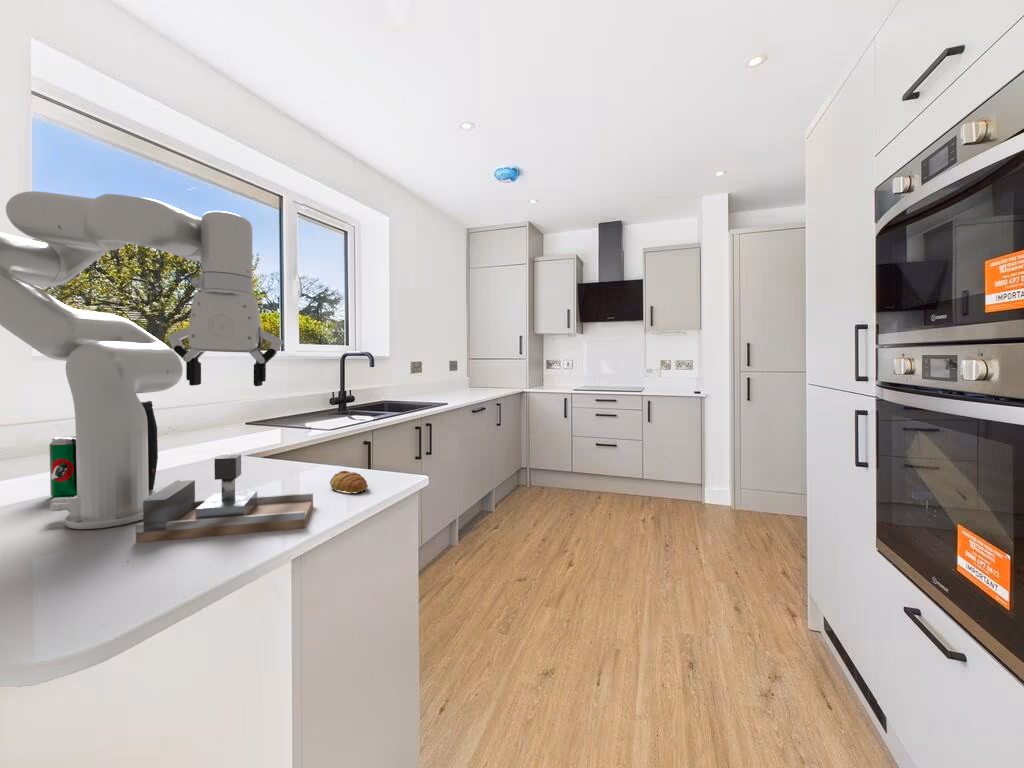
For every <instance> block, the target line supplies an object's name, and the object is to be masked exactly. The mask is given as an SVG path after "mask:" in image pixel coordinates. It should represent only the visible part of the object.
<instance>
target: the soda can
mask: <svg viewBox="0 0 1024 768" xmlns="http://www.w3.org/2000/svg"><path fill="white" fill-rule="evenodd" d="M48 445H49V449H48V450H49V482H50V484H49V487H50V492H49V493H50V496H52V498H60V497H68V498H71V497H73V496H76V495H77V463H76V435H75V436H74V435H73V436H63V437H62V436H60V437H55V438H52V439H51V442H50V443H49V444H48Z"/></svg>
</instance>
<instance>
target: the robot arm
mask: <svg viewBox="0 0 1024 768" xmlns="http://www.w3.org/2000/svg"><path fill="white" fill-rule="evenodd" d="M5 213H6V217H7V218H8V220H9V222H10V223H11V224H12V225H13V227H15V228H16V229H17V230H18V231H19V232H21V233H23V234H24V235H26V236H28V237H29V238H25V237H23V236H22V237H21V236H18V235H14V234H9V233H7V232H3V231H0V326H1V327H3V328H4V329H6V330H7V331H8V332H9V333H11V334H13V335H14V336H15V337H17V338H18V339H19V340H21V341H23V342H24V343H26V344H27V345H28V346H30V347H31V348H32V349H34V350H36V351H37V352H39V353H40V354H42V355H43V356H45V357H47V358H50V359H52V360H55V361H62V362H63V361H64V362H65V361H66V363H65V374H66V378H67V382H68V385H69V390H70V392H71V396H72V400H73V407H74V423H75V426H74V427H75V436H76V463H77V495H76V496H74V497H60V498H54V497H52V499H51V500H50V503H49V504H50V508H49V510H50V512H63V511H68V512H69V515H67V516H66V517H65V518H64V525H65V527H67V528H69V529H74V530H94V529H103V528H112V527H118V526H122V525H129V524H131V523H136V522H139V521H142V520H143V501H144V500H145V499H147V498H149V497H150V496H149V494H150V492H149V491H150V490H149V482H148V424H147V415H146V412H145V409H144V407H143V405H142V403H141V402H142V401H141V400H140V399H139V397H138V395H137V394H146V393H157V392H163V391H167V390H169V389H172V388H173V387H175V386H176V385H177V384H178V383H179V382H180V380H181V379H182V376H183V372H184V371H183V364H182V362H181V359H182V360H183V361H184V362H185V363H186V365H185V366H186V367H185V368H186V369H185V371H186V372H185V373H186V374H185V375H186V376H185V377H186V381H189V382H188V383H189V386H190V387H191V386H193V387H194V386H200V385H201V384H202V362H200V361H199V359H200V358H201V357H202V356H203V355H204V354H205V353H206V352H216V353H217V352H219V353H220V352H222V353H248V354H250V356H252V358H254V360H255V363H254V364H253V386H254V387H261V386H263V382H266V379H267V363H269V361H270V360H272V359H273V358H274V357H275V356H276V355H277V354H278V351H279V350H280V348H281V347H282V345H283V343H284V341H283V339H281V338H280V337H277V336H275V335H273V334H272V333H269V332H267V331H265V330H263V329H262V326H261V318H260V317H261V316H260V310H259V305H258V299H257V297H256V296H254V295H253V227H252V223H251V222H250V221H249V220H248V219H247V218H245V217H244V216H241V215H239V214H237V213H232V212H228V211H221V210H213V211H212V210H211V211H210V210H209V211H207V212H205V213H203V214H202V215H201V217H199V216H195V215H192V214H190V213H188V212H186V211H184V210H181V209H179V208H177V207H174V206H172V205H171V204H167V203H165V202H162V201H160V200H156V199H153V198H147V197H142V196H134V195H125V194H119V193H104V194H101V195H98V196H96V197H86V196H76V195H72V194H71V195H70V194H65V193H64V194H63V193H55V192H47V191H36V190H35V191H31V190H30V191H23V192H19V193H17V194H15V195H13V196H12V197H10V199H9V200H8V201H7V203H6V204H5ZM30 238H33V239H30ZM126 244H129V245H130V244H131V245H138V246H142V247H146V248H150V249H154V250H158V251H161V252H164V253H168V254H170V255H175V256H177V257H180V258H183V259H187V260H190V261H194V262H200V273H199V276H198V277H195V278H194V277H192V278H191V279H190V283H191V286H193V287H197V288H198V289H199V290H200V291H194V295H193V299H192V302H191V308H190V309H191V310H190V315H189V325H188V327H185V328H183V329H180V330H177V331H176V332H172V333H170V334H168V335H167V337H166V338H167V340H168V342H169V344H170V346H171V347H172V348H173V349H172V348H171V347H169V346H168V345H167V344H166V343H164V342H162V341H161V340H159V339H158V338H157V337H155V336H153V335H152V334H151V333H149V332H147V330H145V329H143V328H142V327H141V326H139V325H137V323H135V322H133V321H131V320H129V319H128V318H127V319H126V318H125V317H122V316H119V315H116V314H112V313H107V312H99V311H91V310H85V309H84V310H83V309H78V308H73V307H71V306H68V305H66V304H64V303H63V302H61V301H60V300H58V299H56V298H55V297H53V296H52V295H50V294H49V293H48V292H47V291H45V290H43V289H41V288H42V287H43V288H45V287H46V288H53V287H54V288H55V287H58V286H62V285H64V284H66V283H68V282H70V281H71V280H72V279H74V278H75V277H76V276H77V275H79V274H80V273H82V272H83V271H84V270H86V269H87V268H88V267H89V266H90V265H92V264H93V263H95V262H96V261H97V260H99V259H100V258H101V257H103V255H105V253H107V252H108V251H115V250H118V249H119V250H120V249H121V248H123V247H124V246H125V245H126ZM40 287H41V288H40ZM186 338H188V345H189V347H190V349H188V348H186V346H184V344H183V342H182V341H183V340H184V339H186ZM262 339H264V340H266V341H267V342H269V343H270V347H269V348H268V349H267V350H266V351H265V352H264V353H263V352H262V350H261V348H262V343H263V342H262ZM179 357H180V358H181V359H180V358H179Z"/></svg>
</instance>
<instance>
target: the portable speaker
mask: <svg viewBox="0 0 1024 768" xmlns="http://www.w3.org/2000/svg"><path fill="white" fill-rule="evenodd" d="M140 402H141V403H142V405H143V407H144V409H145V412H146V415H147V424H148V482H149V491H152V490H153V489H154V486H155V481H156V473H157V467H158V460H159V459H158V458H159V456H158V455H159V453H158V452H159V449H158V425H157V420H156V417H155V412H154V408H153V406H154V404H153V401H151V400H148V401H140Z"/></svg>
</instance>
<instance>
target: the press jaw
mask: <svg viewBox="0 0 1024 768" xmlns="http://www.w3.org/2000/svg"><path fill="white" fill-rule="evenodd" d="M241 475H242V454H220V455H219V456H217V457H216V458H214V481H215V480H221V492H214V493H212V494H211V495H210V496H209V497H208V498H207V499H205V500H206V501H204V502H203V503H202V504H201V505H200V506H199V507H197V508H196V509H195V519H206V518H219V517H232V516H245V515H248V514H249V513H250V512H251V510H252V509H253V508H254V507H255V505H256V504H257V496H258V490H248V491H247V490H246V491H236V479H238V477H240V476H241Z"/></svg>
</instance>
